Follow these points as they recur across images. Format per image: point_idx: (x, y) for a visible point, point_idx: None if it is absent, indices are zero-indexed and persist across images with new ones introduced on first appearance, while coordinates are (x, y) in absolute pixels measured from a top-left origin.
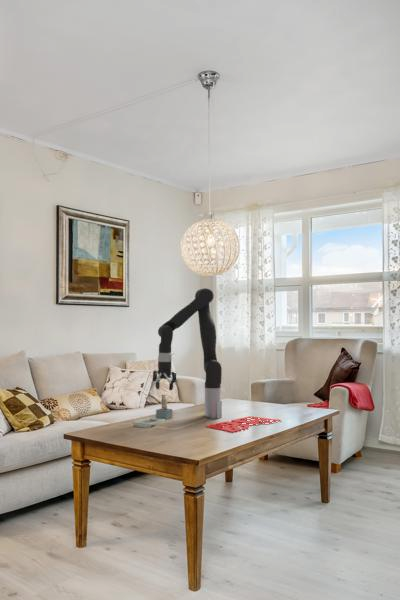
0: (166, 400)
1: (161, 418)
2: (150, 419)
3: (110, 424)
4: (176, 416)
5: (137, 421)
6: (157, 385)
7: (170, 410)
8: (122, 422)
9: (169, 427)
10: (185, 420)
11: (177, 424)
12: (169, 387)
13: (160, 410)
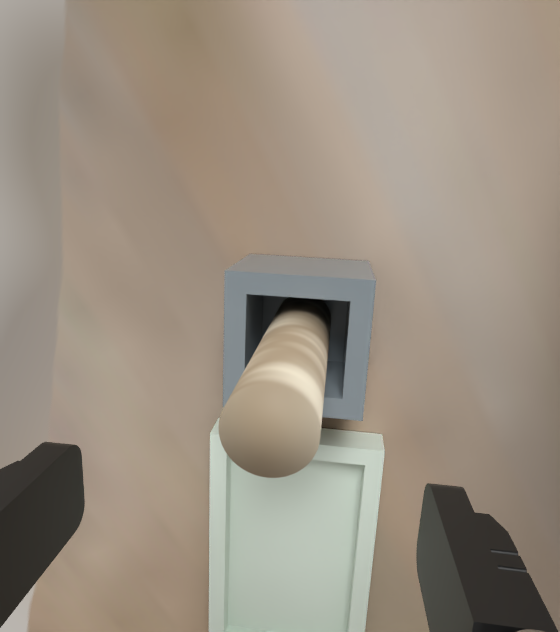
0: (323, 399)
1: None
2: None
3: (40, 619)
4: (320, 47)
5: (217, 616)
6: (29, 585)
7: (370, 320)
8: None
9: None
10: (520, 236)
11: (520, 455)
12: (433, 617)
13: None
